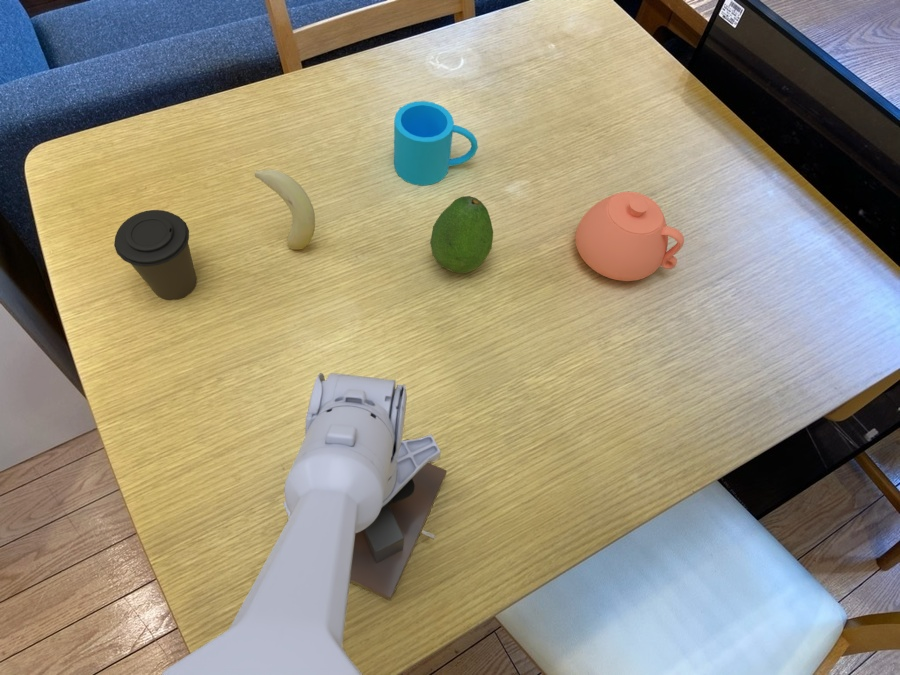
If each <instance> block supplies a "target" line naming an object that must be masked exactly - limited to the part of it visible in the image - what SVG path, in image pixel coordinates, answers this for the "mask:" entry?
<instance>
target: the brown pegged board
mask: <svg viewBox="0 0 900 675" xmlns="http://www.w3.org/2000/svg"><path fill="white" fill-rule="evenodd" d="M447 471H448V470H446V469H443V468H442V467H439V466H437V465H435V464H432V463H430V462H428V463H427V464H425V465H424V466H423V467H422V468H421V469H420V470H419V471H418V472H417V473H416V474H415V475H414V476H413V477H412V479H413V481H414V485H415V488H414V493H413V494H412V495H411V496H409V497H407V498H405V499H403V500H401V501H399V502H397V503H395V504H394V503H392V504H390V505H389V506H390V508H391V510H392V512H393V515H394V517H395V519H396V521H397V523H398V525H399V527H400V529H401V532H402V534H403V536H404V546H403V550H401V551H399V552H397V553H395V554H393V555H391V556H390V557H388V558H386V559H384V560H382V561H380V562H378V563H376V562H375V560H374V557H373V555H372V553H371V551H370V548H369V546H368V544H367V542H366V539H365V537H364V535H363V533H362V531H360V532H358V533H355V541H354V550H353V558H352V567H351V576H350V584H352V585H355V586H357V587H359V588H361V589H363V590H365V591H368V592H370V593H372V594H374V595H375V596H377V597H378V596H379V597H380V598H382V599H384V600H386V601H388V602H391V601H392V599H393V598H394V595H395V593H396V590H397V588H398V586H399V584H400V581H401V580H402V577H403V574H404V572H405V570H406V568H407V565H408V564H409V561H410V559H411V556H412V553H413V552H414V550H415V547H416V545H417V542H418V540H419V538H420V536H421V535H424V536H426V537H428V538H430V539H432V540H435V538H436V535H435V534H433V533H431V532H428V531H426V530H424V526H425V524H426V522H427V519H428V518H429V515H430V513H431V510H432V509H433V506H434V504H435V501H436V500H437V497H438V495H439V493H440V490H441V488H442V486H443V483H444V482H445V481H444V480H445V478H446V476H447Z"/></svg>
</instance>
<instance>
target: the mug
mask: <svg viewBox="0 0 900 675" xmlns="http://www.w3.org/2000/svg"><path fill="white" fill-rule="evenodd" d="M393 120H394V123H393V126H394V127H393V166H394V170H395V173H396V174H397V175H398V177H399V178H401V179H402V180H403V181H405V182H407V183H409V184H412V185H415V186H431V185H434V184H438V183H440V182H441V181H442V180H443V179H445V178H446V176H447V175H448V173H449V168H450V167H453V166H457V165H458V166H459V165H462V164H465V163H466V162H468V161H470V160H471V159H472V158H473V157H475V155H476V153H477V152H478V148H479V145H478V140H477V138H476V137H475V135H474V133H472V132H471V131H470V130H468V129H467V128H465V127H463V126H460V125H457V124H455V122H454V118H453V115H452V114H451V112H450V111H449V110H448V109H447V108H445V107H443V105H441V104H438V103H435V102H432V101H425V100H421V101H419V100H418V101H413V102H409V103H406V104H405V105H402V106H401V107H400V108H399V109H398V110H397V111H396V113H395V116H394V119H393ZM453 133H455V134H459V135H461V136H463V137H465V138H466V139H467V140H468V141H469V142H470V148H469V150H468V151H467V152H466V153H464V154H463V155H461V156H457V157H453V158H451V151H452V143H453V135H454V134H453Z"/></svg>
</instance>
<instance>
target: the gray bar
mask: <svg viewBox="0 0 900 675" xmlns="http://www.w3.org/2000/svg"><path fill="white" fill-rule="evenodd" d="M362 533H363V535H364V537H365V539H366V542H367V544H368V546H369V548H370V551H371V553H372V555H373V557H374V560H375V562H376V563H378V562H380V561H382V560H384V559H386V558H388V557H390V556H391V555H393V554H395V553H397V552H399V551H401V550H403V546H404V536H403V534H402V532H401V529H400V527H399V525H398V523H397V521H396V519H395V517H394V515H393V512H392V510H391V508H390V506H389V504H388V503H387V504H386V505H384V506H383V507H382V508H381V511H380V513H379V515H378V516H377V518H376V519H375V520H374V522H373V523H372V524H370V525H369V526H368V527H367V528H365V529H364V530H362Z"/></svg>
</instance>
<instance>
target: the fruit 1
mask: <svg viewBox="0 0 900 675" xmlns="http://www.w3.org/2000/svg"><path fill="white" fill-rule="evenodd" d="M254 177H255V178H256V179H258V180H260V181H261V182H262V183H264V184H265V185H266V186H267V187H268V188H270V189H271V190H272V191H273V192H275V193H276V194H277V195H278V196H279V197H280V199H282V200H283V202H284V203H285V205H286V206H287V207H288V209H289V211H290V214H291V222H292V223H291V226H290V230H289V233H288V236H287V242H286V244H287V245H286V246H287V247H288V249H291V250H303V249H305V248H306V247H307V246H308V245H309V243H310V242H312V239H313V238H314V235H315V230H316V214H315V209H314V206H313V204H312V201H311V198H310V197H309V194H307V192H306V191H305V189H304V188H303V187H302V186H301V184H300V183H299V182H298V181H297V180H295V178H293V177H292V176H290V175H288V174H287V173H286V172H283V171H280V170H277V169H265V170H255V171H254Z"/></svg>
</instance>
